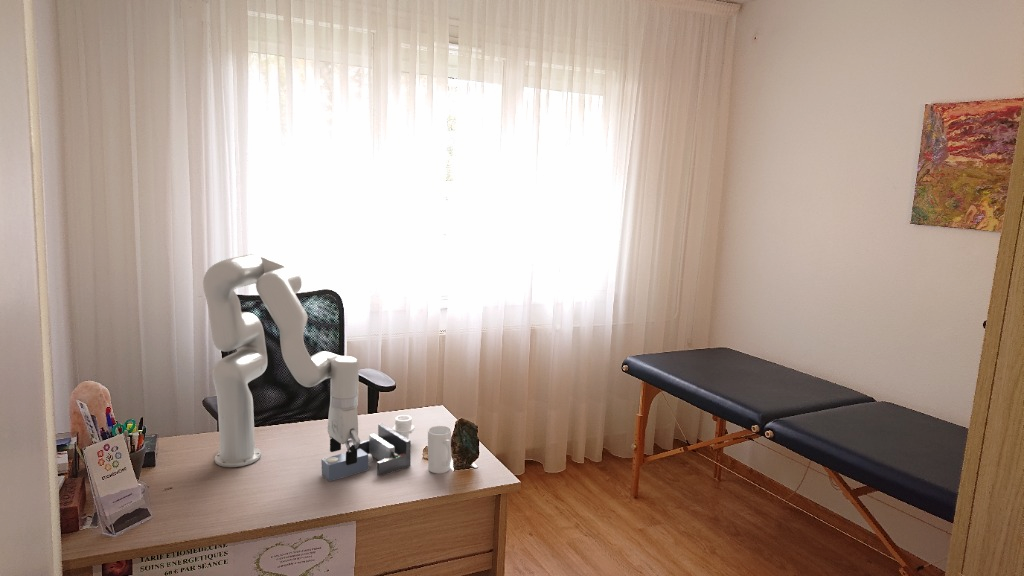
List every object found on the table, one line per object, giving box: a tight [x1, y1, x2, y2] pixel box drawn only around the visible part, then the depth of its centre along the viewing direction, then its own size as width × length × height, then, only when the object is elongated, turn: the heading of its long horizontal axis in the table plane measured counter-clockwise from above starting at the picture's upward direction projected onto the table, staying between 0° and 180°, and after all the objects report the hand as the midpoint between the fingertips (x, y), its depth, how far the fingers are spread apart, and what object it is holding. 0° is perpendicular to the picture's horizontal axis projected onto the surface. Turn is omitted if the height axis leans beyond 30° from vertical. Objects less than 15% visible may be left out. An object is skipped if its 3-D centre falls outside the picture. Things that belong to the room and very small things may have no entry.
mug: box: [427, 425, 452, 474], centre depth 189 cm, size 10×7×12 cm, turn 34°
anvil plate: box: [368, 433, 398, 461], centre depth 193 cm, size 2×15×6 cm, turn 41°
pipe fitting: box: [391, 414, 416, 440], centre depth 208 cm, size 6×7×8 cm
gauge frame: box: [351, 423, 412, 477], centre depth 194 cm, size 10×16×8 cm, turn 41°
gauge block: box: [321, 449, 373, 482], centre depth 188 cm, size 5×14×5 cm, turn 130°
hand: (343, 457), depth 187 cm, fingers open, 9 cm apart
